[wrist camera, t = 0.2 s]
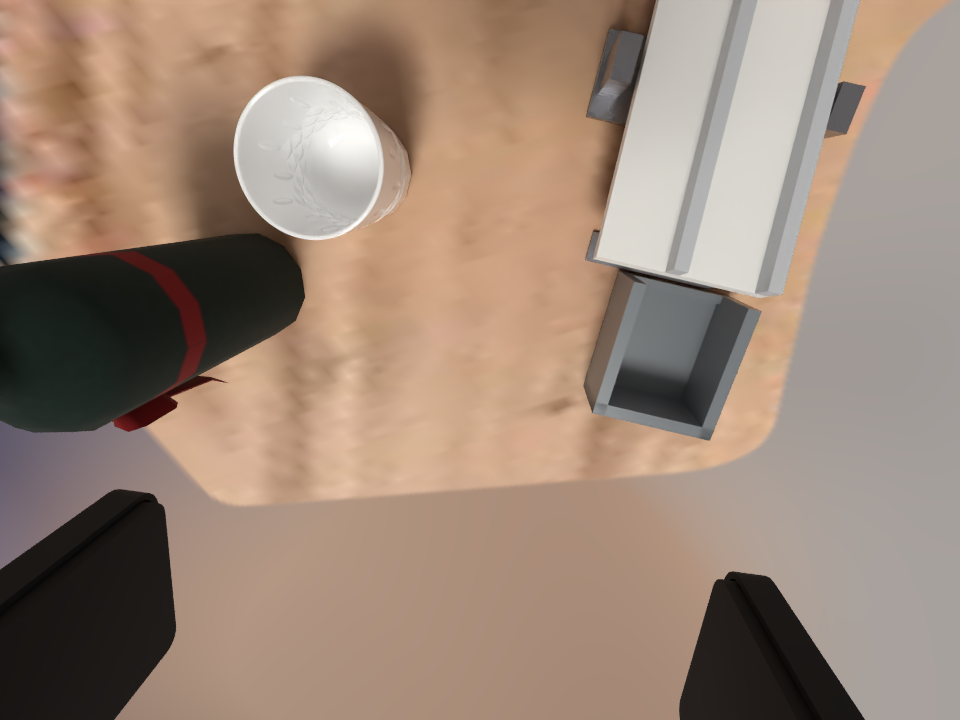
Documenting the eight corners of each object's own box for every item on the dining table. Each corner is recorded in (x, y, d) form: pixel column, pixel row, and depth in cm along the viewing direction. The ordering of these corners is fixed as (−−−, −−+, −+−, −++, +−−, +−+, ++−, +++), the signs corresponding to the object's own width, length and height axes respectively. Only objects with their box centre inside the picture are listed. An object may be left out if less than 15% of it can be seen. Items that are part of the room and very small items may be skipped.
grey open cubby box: (618, 270, 37) (634, 281, 32) (729, 296, 37) (761, 311, 32) (583, 386, 39) (592, 413, 34) (685, 410, 39) (709, 440, 34)
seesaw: (685, -123, 29) (703, -163, 27) (858, -83, 29) (891, -121, 27) (592, 258, 30) (601, 252, 28) (759, 297, 30) (782, 294, 28)
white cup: (286, 156, 36) (202, 140, 27) (373, 83, 34) (317, 39, 25) (355, 251, 38) (299, 268, 28) (442, 186, 36) (414, 182, 26)
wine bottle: (200, 351, 41) (-539, 702, 12) (206, 221, 38) (-762, 289, 9) (296, 373, 41) (-223, 776, 12) (310, 245, 38) (-341, 386, 9)
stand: (653, -143, 30) (680, -211, 25) (892, -88, 30) (966, -146, 25) (551, 251, 37) (555, 259, 32) (743, 296, 37) (778, 312, 32)
